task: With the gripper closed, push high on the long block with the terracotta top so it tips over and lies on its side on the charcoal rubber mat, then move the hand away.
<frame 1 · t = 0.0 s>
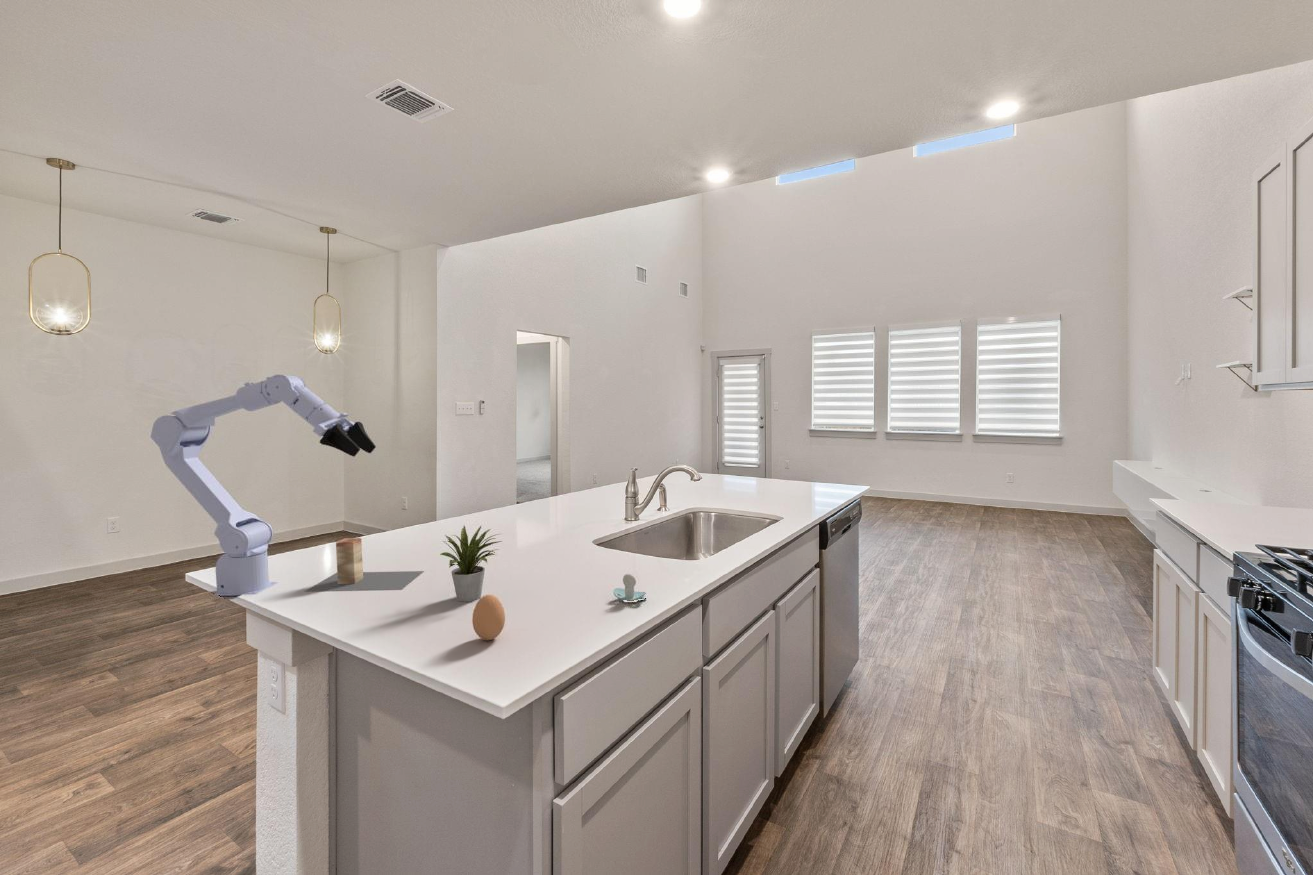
hand: (365, 451, 130), 32 cm above the counter, tool tilted 50°, fingers open, 7 cm apart
rubber mat: (367, 582, 136), on the counter
pacifier: (631, 601, 123), on the counter
egg: (489, 640, 104), on the counter
long block: (350, 581, 136), resting on rubber mat
house plant: (468, 600, 124), on the counter
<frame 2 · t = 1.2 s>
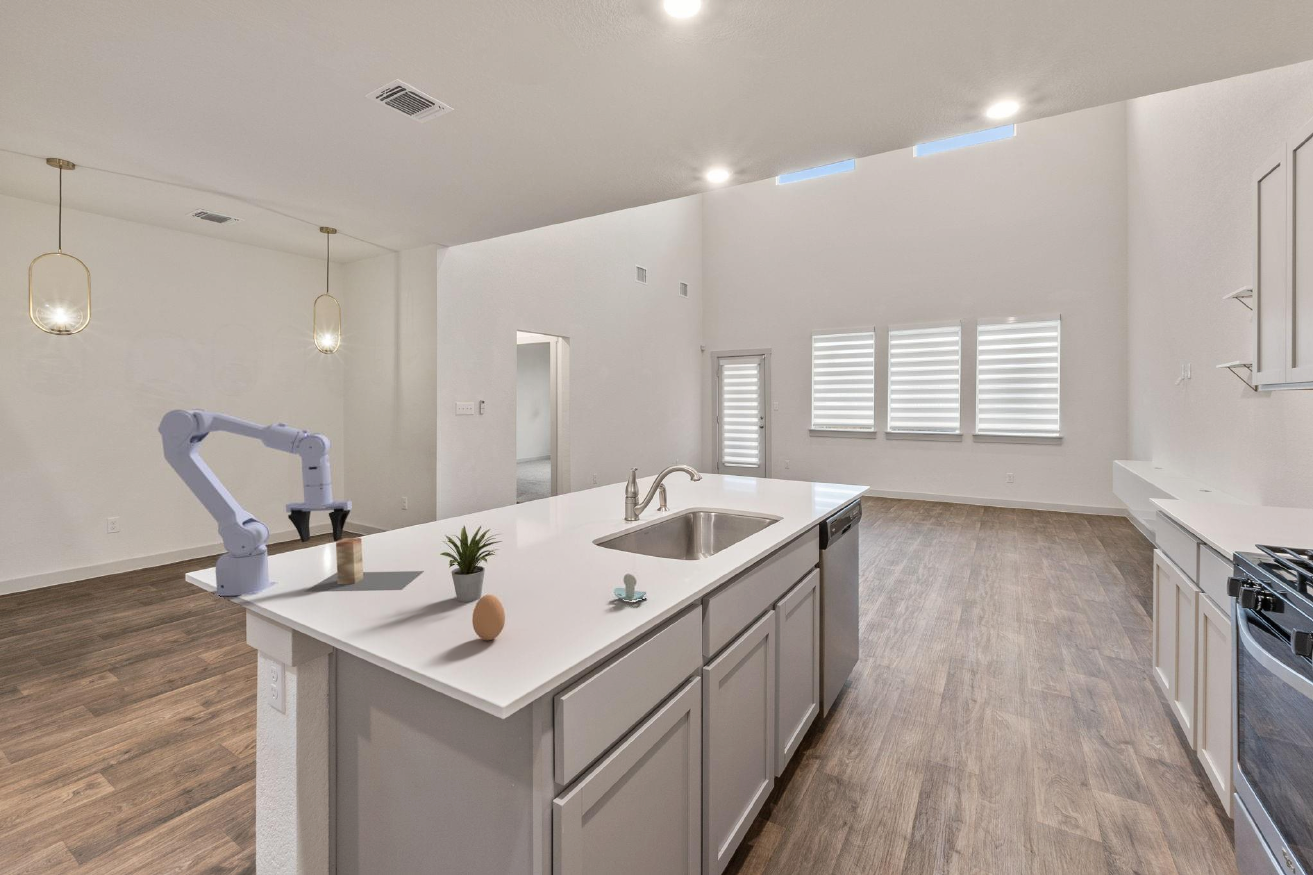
hand: (321, 540, 135), 11 cm above the counter, tool pointing down, fingers open, 7 cm apart
nothing on the counter moved.
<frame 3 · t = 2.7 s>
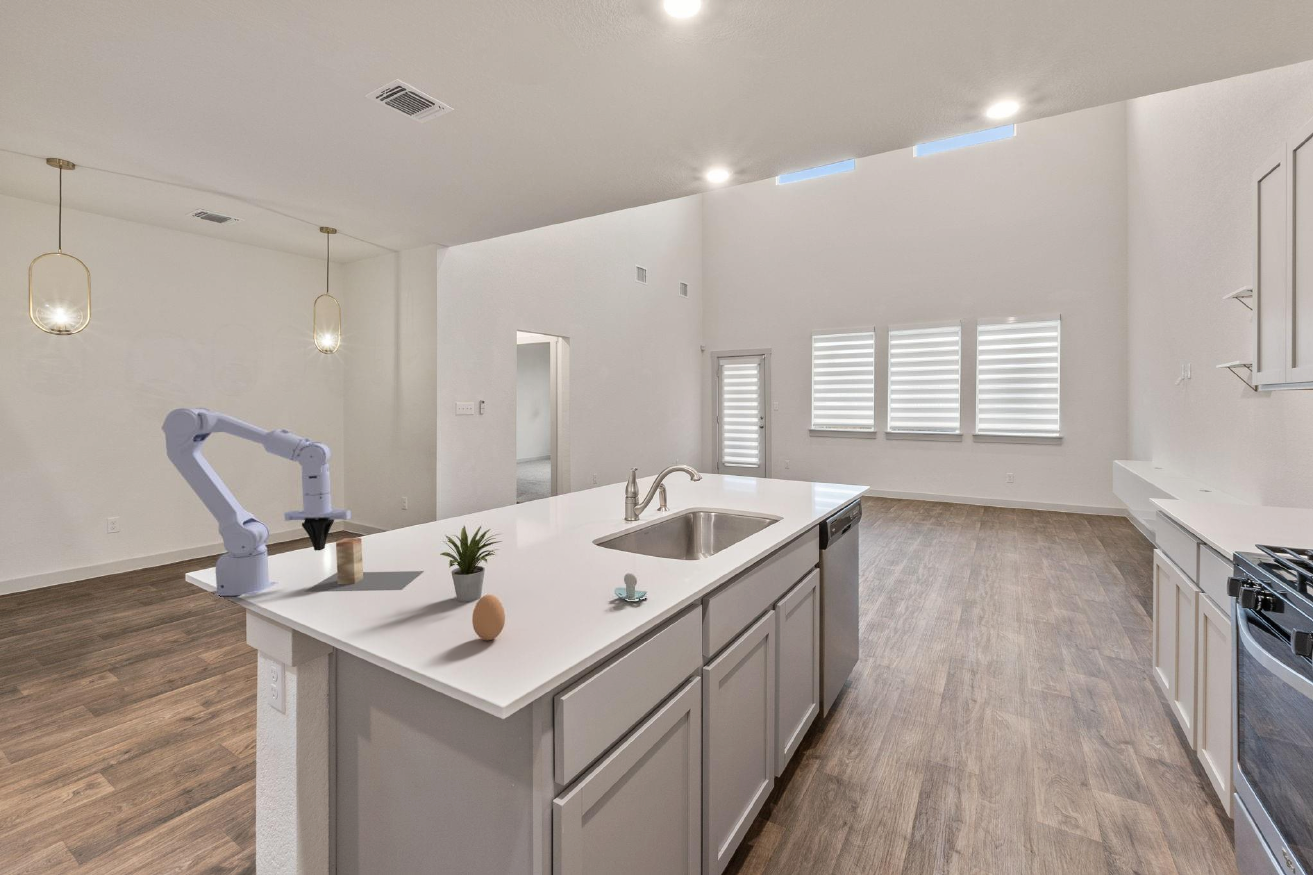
hand: (319, 549, 135), 8 cm above the counter, tool pointing down, fingers closed
nothing on the counter moved.
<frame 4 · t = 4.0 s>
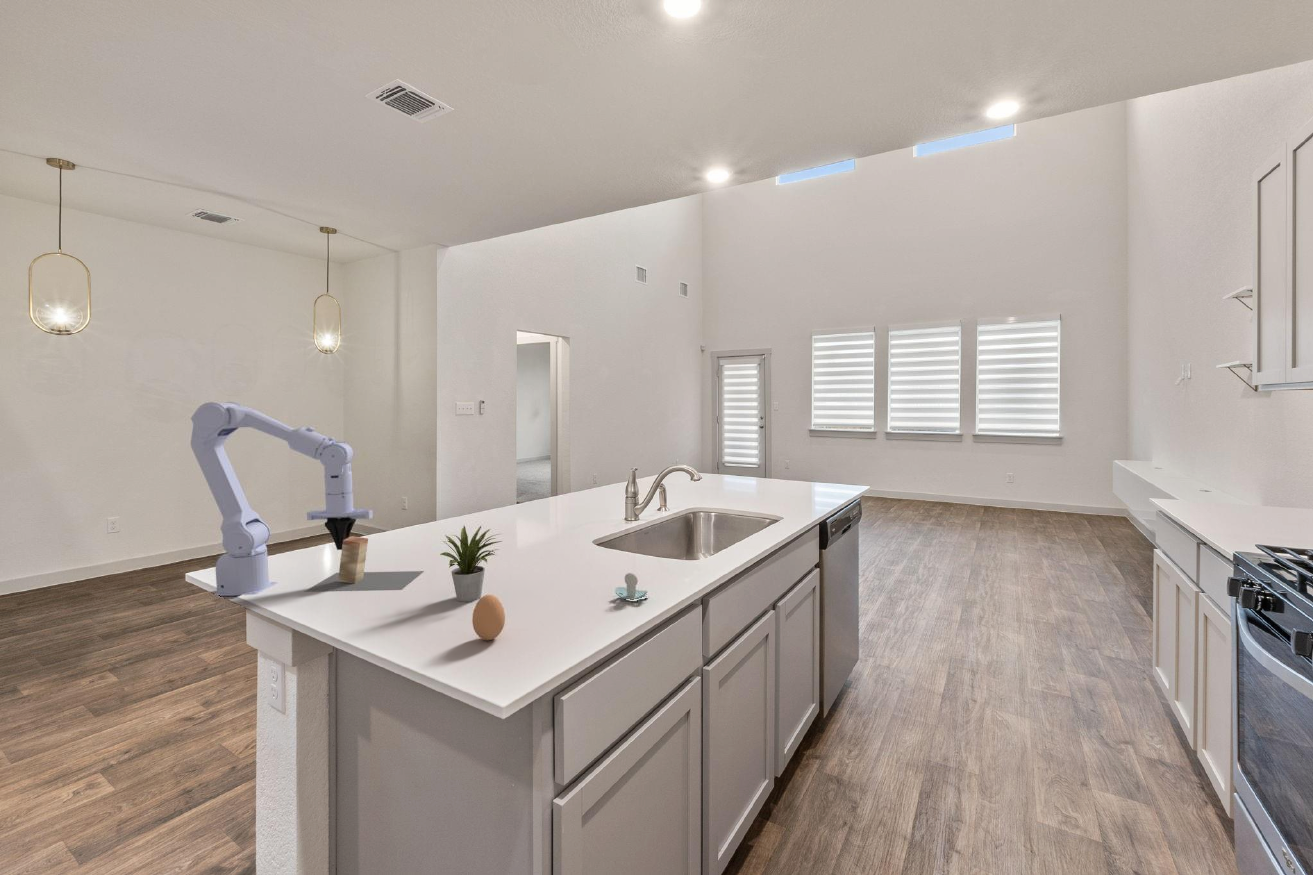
hand: (341, 548, 135), 8 cm above the counter, tool pointing down, fingers closed
long block: (350, 579, 136), point 1 cm above the counter, tilted 9°, touching gripper, rubber mat
everything else where it was.
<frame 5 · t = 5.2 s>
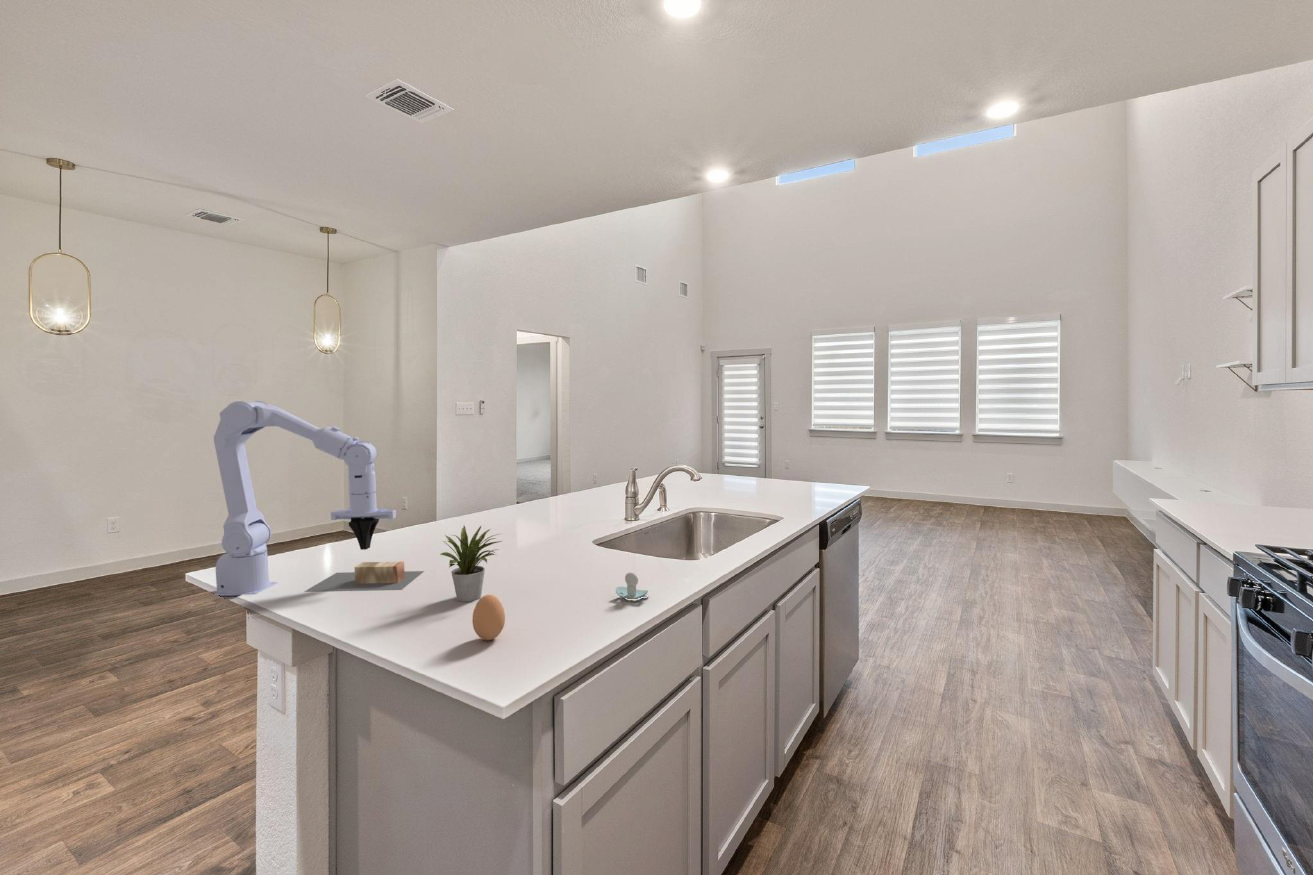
hand: (365, 548, 136), 8 cm above the counter, tool pointing down, fingers closed
long block: (358, 572, 136), point 2 cm above the counter, tilted 90°, touching rubber mat
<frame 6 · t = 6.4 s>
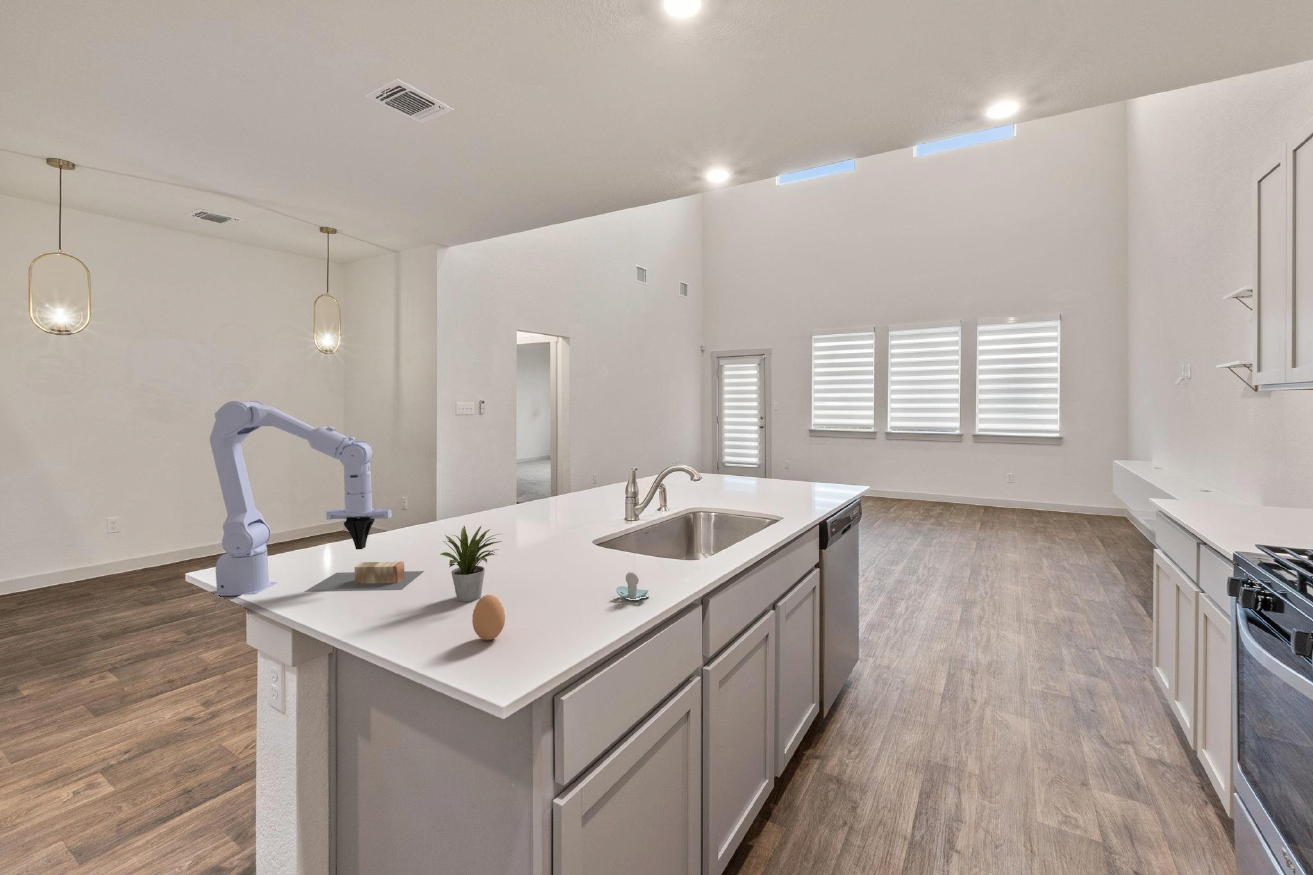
hand: (360, 548, 135), 8 cm above the counter, tool pointing down, fingers closed
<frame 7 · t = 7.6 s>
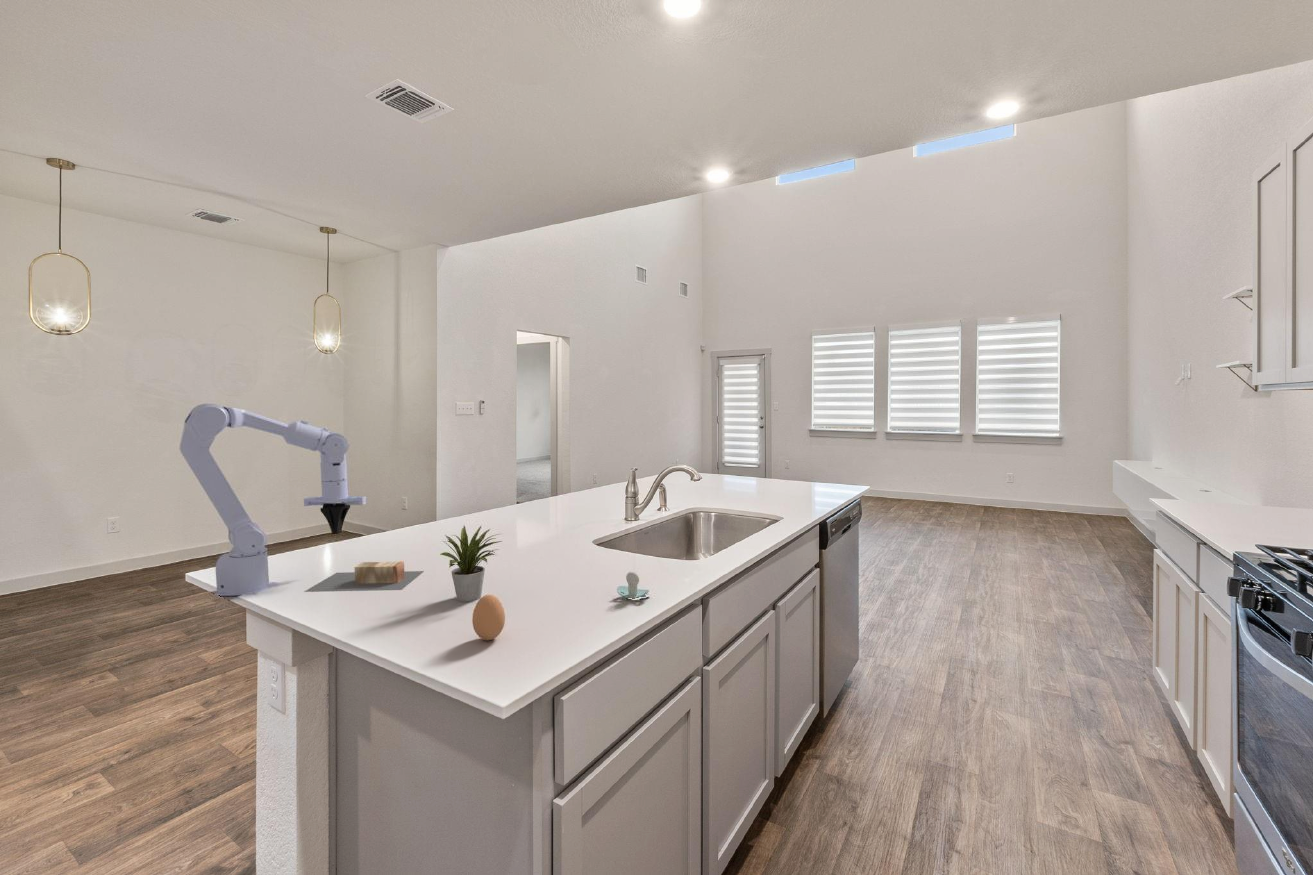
hand: (336, 533, 143), 10 cm above the counter, tool pointing down, fingers closed
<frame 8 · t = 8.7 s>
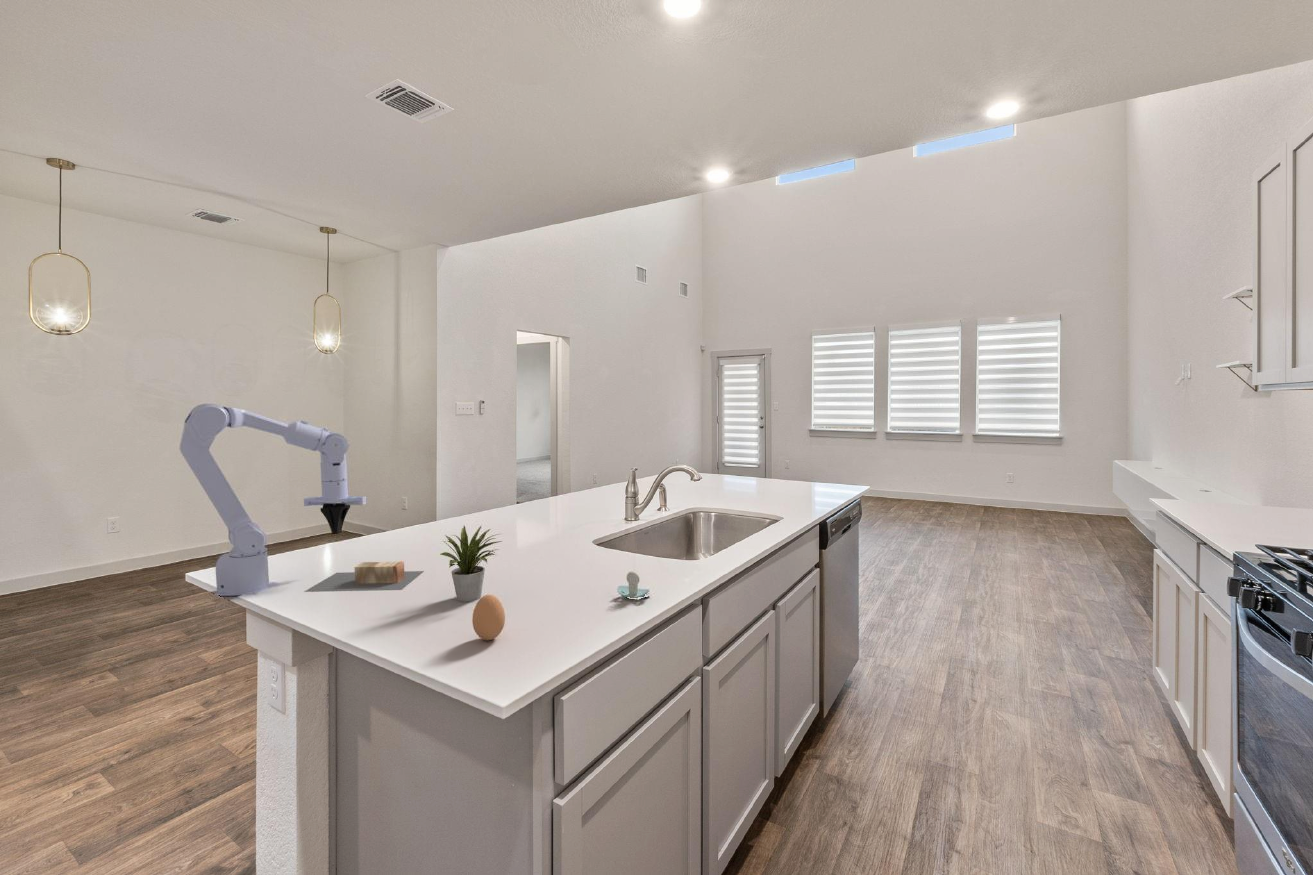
hand: (336, 533, 143), 10 cm above the counter, tool pointing down, fingers closed
at the end: long block tilted 90°; long block inside the target area (2.5 cm from its centre), point 2.5 cm above the counter; long block touching rubber mat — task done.
